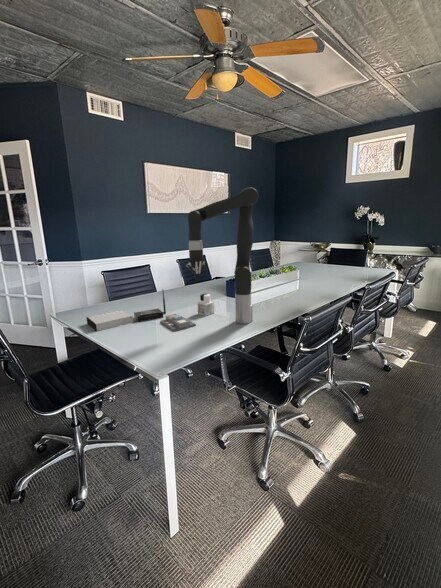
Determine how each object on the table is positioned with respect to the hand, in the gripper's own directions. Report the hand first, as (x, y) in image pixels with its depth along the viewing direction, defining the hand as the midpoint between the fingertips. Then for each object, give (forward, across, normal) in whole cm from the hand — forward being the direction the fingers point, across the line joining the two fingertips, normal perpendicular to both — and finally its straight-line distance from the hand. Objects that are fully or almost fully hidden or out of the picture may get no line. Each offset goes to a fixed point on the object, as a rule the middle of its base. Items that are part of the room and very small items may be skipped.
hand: (197, 280), depth 164 cm
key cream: (+25, +9, -5) cm, 27 cm away
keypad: (+27, +9, -11) cm, 31 cm away
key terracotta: (+26, +9, -17) cm, 32 cm away
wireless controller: (+28, +16, -34) cm, 47 cm away
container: (+27, -15, -18) cm, 36 cm away
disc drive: (+28, +41, -40) cm, 63 cm away
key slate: (+24, +9, -11) cm, 28 cm away
